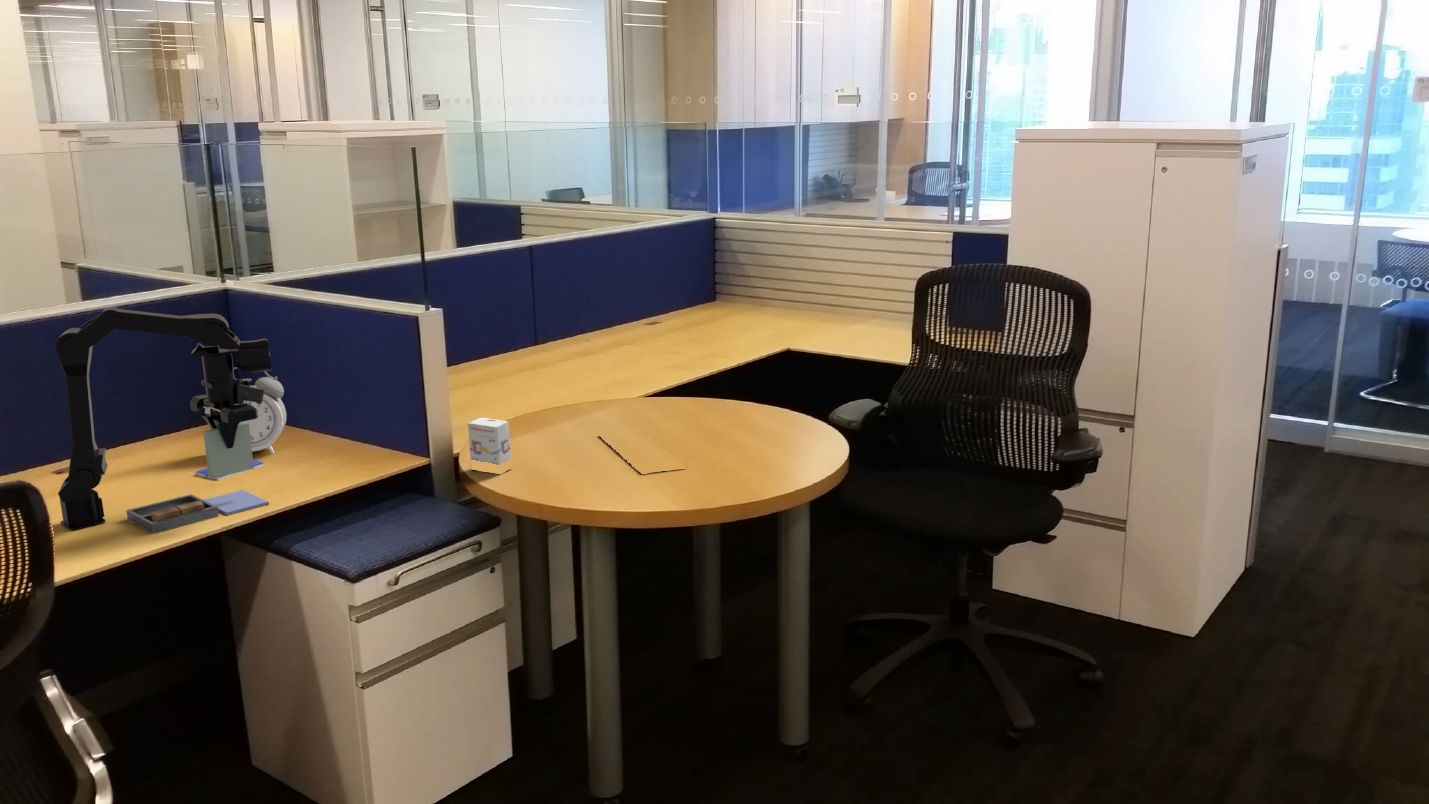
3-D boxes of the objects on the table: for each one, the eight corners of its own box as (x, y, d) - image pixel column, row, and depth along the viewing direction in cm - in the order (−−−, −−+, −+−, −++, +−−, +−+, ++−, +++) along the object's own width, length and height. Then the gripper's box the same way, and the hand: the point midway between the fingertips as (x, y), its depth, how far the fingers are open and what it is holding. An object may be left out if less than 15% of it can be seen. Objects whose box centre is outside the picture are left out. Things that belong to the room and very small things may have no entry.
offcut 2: (183, 523, 225) (181, 509, 224) (178, 519, 227) (176, 505, 226) (205, 517, 228) (203, 504, 227) (200, 514, 230) (198, 500, 229)
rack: (152, 533, 218) (151, 524, 218) (127, 519, 227) (126, 510, 226) (218, 516, 228) (217, 507, 227) (192, 503, 236) (191, 494, 236)
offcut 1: (159, 529, 221) (157, 515, 220) (152, 526, 223) (150, 512, 222) (181, 523, 224) (179, 509, 223) (174, 520, 226) (172, 506, 225)
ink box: (469, 471, 256) (466, 421, 253) (482, 465, 260) (479, 416, 258) (499, 475, 252) (496, 425, 250) (512, 469, 257) (509, 420, 254)
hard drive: (240, 456, 266) (194, 470, 255) (263, 461, 262) (217, 475, 251) (241, 463, 266) (195, 477, 256) (264, 467, 262) (218, 482, 252)
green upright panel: (212, 478, 230) (206, 432, 228) (208, 476, 231) (203, 431, 229) (254, 468, 237) (248, 423, 234) (250, 467, 238) (245, 422, 235)
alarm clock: (216, 460, 267) (205, 371, 261) (223, 450, 275) (212, 364, 269) (288, 454, 271) (278, 367, 265) (292, 444, 279) (283, 360, 273)
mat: (227, 515, 228) (227, 512, 228) (201, 502, 236) (201, 500, 236) (268, 504, 235) (268, 501, 235) (242, 492, 243) (242, 489, 242)
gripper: (278, 375, 228) (285, 447, 232) (236, 362, 240) (244, 431, 244) (225, 384, 220) (234, 459, 224) (184, 371, 232) (194, 442, 236)
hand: (228, 447), depth 232 cm, fingers closed on green upright panel, 2 cm apart
